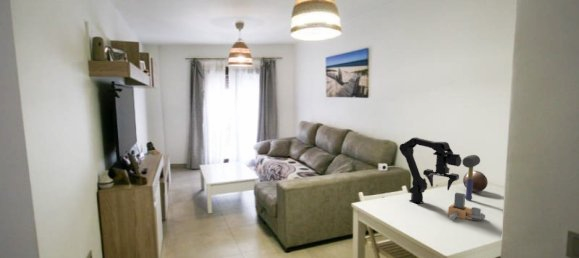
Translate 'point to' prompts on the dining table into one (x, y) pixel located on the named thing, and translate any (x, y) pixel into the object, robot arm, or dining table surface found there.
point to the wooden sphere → (477, 181)
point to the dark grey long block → (459, 201)
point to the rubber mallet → (470, 173)
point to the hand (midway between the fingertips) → (439, 188)
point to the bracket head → (466, 213)
